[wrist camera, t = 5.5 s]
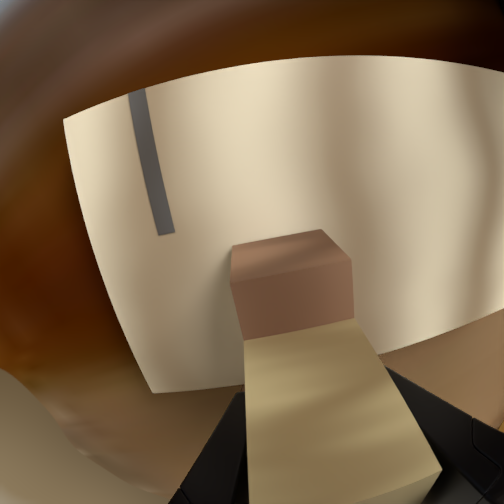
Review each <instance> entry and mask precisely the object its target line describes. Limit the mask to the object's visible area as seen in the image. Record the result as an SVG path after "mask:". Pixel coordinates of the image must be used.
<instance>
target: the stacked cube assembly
mask: <svg viewBox="0 0 504 504" xmlns="http://www.w3.org/2000/svg"><path fill="white" fill-rule="evenodd" d="M230 287H231V291H232V295H233V299H234V304H235V308H236V312H237V316H238V320H239V324H240V328H241V332H242V336H243V340H244V371H245V384H242V391H245V402H246V431H247V458H248V482H249V504H421V502H422V501H423V499H424V498H425V496H426V495H427V493H428V492H429V490H430V489H431V487H432V486H433V484H434V483H435V481H436V479H437V478H438V476H439V474H440V473H441V471H442V468H441V466H440V464H439V462H438V460H437V458H436V457H435V455H434V453H433V451H432V449H431V447H430V445H429V444H428V442H427V440H426V438H425V436H424V434H423V433H422V431H421V429H420V427H419V425H418V424H417V422H416V420H415V418H414V416H413V415H412V413H411V411H410V409H409V408H408V406H407V404H406V402H405V401H404V399H403V397H402V395H401V394H400V392H399V390H398V389H397V387H396V385H395V383H394V382H393V380H392V378H391V377H390V375H389V373H388V372H387V370H386V368H385V367H384V365H383V363H382V362H381V360H380V358H379V357H378V355H377V354H376V352H375V350H374V349H373V347H372V345H371V344H370V342H369V341H368V339H367V337H366V336H365V334H364V333H363V331H362V329H361V328H360V326H359V325H358V323H357V321H356V320H355V318H354V295H353V276H352V261H351V258H350V257H349V256H348V255H347V254H346V253H345V252H344V251H343V250H342V249H341V248H340V247H339V246H338V245H337V244H336V243H335V242H334V241H333V240H332V239H331V238H330V237H329V236H328V235H327V234H326V233H325V232H324V231H323V230H322V229H317V230H312V231H307V232H301V233H296V234H291V235H285V236H280V237H275V238H269V239H264V240H259V241H253V242H248V243H243V244H238V245H233V246H232V256H231V270H230Z"/></svg>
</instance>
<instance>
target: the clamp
mask: <svg viewBox="0 0 504 504" xmlns="http://www.w3.org/2000/svg"><path fill="white" fill-rule="evenodd" d="M499 431H501V432H503V433H504V421H503V422H502V424H501V426H500V428H499Z"/></svg>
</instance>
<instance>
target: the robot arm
mask: <svg viewBox="0 0 504 504" xmlns="http://www.w3.org/2000/svg"><path fill="white" fill-rule="evenodd" d="M499 2H500V4H501V7H502V9H503V12H504V0H499ZM384 367H385V368H386V370H387V372H388V373H389V375H390V377H391V378H392V380H393V382H394V383H395V385H396V387H397V389H398V390H399V392H400V394H401V395H402V397H403V399H404V401H405V402H406V404H407V406H408V408H409V409H410V411H411V413H412V415H413V416H414V418H415V420H416V422H417V424H418V425H419V427H420V429H421V431H422V433H423V434H424V436H425V438H426V440H427V442H428V444H429V445H430V447H431V449H432V451H433V453H434V455H435V457H436V458H437V460H438V462H439V464H440V466H441V468H442V471H441V473H440V474H439V476H438V478H437V479H436V481H435V483H434V484H433V486H432V487H431V489H430V490H429V492H428V493H427V495H426V496H425V498H424V499H423V501H422V502H421V504H504V433H503V432H501V431H499V430H497V429H495V428H493V427H491V426H489V425H487V424H485V423H483V422H481V421H480V420H478V419H476V418H472V416H470V415H469V414H467V413H465V412H463V411H462V410H460V409H458V408H456V407H455V406H453V405H451V404H449V403H448V402H446V401H444V400H442V399H441V398H439V397H437V396H435V395H434V394H432V393H430V392H429V391H427V390H425V389H423V388H422V387H420V386H418V385H417V384H415V383H413V382H412V381H410V380H408V379H407V378H405V377H403V376H401V375H400V374H398V373H396V372H395V371H393V370H391V369H390V368H388V367H386V366H385V365H384ZM180 488H181V489H180ZM180 488H178V489H177V491H176V492H175V494H174V496H173V497H172V499H171V500H170V502H169V503H168V504H249V482H248V458H247V431H246V402H245V391H242V392H237V393H236V394H235V396H234V397H233V399H232V401H231V403H230V404H229V406H228V408H227V410H226V411H225V413H224V415H223V416H222V418H221V420H220V422H219V423H218V425H217V427H216V428H215V430H214V432H213V433H212V435H211V437H210V438H209V440H208V442H207V443H206V445H205V447H204V448H203V450H202V452H201V453H200V455H199V456H198V458H197V460H196V461H195V463H194V465H193V466H192V468H191V469H190V471H189V472H188V474H187V476H186V477H185V479H184V480H183V482H182V483H181V485H180Z"/></svg>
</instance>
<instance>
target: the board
mask: <svg viewBox="0 0 504 504" xmlns="http://www.w3.org/2000/svg"><path fill="white" fill-rule="evenodd" d="M63 122H64V128H65V135H66V141H67V146H68V152H69V157H70V162H71V167H72V172H73V176H74V181H75V185H76V189H77V194H78V198H79V202H80V206H81V210H82V213H83V217H84V221H85V224H86V228H87V231H88V235H89V238H90V241H91V245H92V248H93V251H94V254H95V257H96V260H97V263H98V266H99V269H100V272H101V275H102V278H103V281H104V283H105V286H106V289H107V292H108V294H109V297H110V300H111V302H112V305H113V307H114V310H115V312H116V315H117V317H118V320H119V322H120V325H121V327H122V329H123V332H124V334H125V336H126V339H127V341H128V343H129V345H130V348H131V350H132V352H133V354H134V356H135V359H136V361H137V363H138V365H139V367H140V369H141V371H142V373H143V375H144V377H145V379H146V381H147V383H148V385H149V387H150V389H151V391H152V393H167V392H180V391H192V390H202V389H211V388H219V387H227V386H235V385H242V384H245V371H244V340H243V336H242V332H241V328H240V324H239V320H238V316H237V312H236V308H235V304H234V299H233V295H232V291H231V287H230V270H231V256H232V246H233V245H238V244H243V243H248V242H253V241H259V240H264V239H269V238H275V237H280V236H285V235H291V234H296V233H301V232H307V231H312V230H317V229H322V230H323V231H324V232H325V233H326V234H327V235H328V236H329V237H330V238H331V239H332V240H333V241H334V242H335V243H336V244H337V245H338V246H339V247H340V248H341V249H342V250H343V251H344V252H345V253H346V254H347V255H348V256H349V257H350V258H351V261H352V276H353V295H354V318H355V320H356V321H357V323H358V325H359V326H360V328H361V329H362V331H363V333H364V334H365V336H366V337H367V339H368V341H369V342H370V344H371V345H372V347H373V349H374V350H375V352H376V354H377V355H379V354H383V353H386V352H390V351H393V350H396V349H399V348H402V347H405V346H408V345H411V344H414V343H417V342H420V341H423V340H426V339H429V338H432V337H435V336H437V335H440V334H443V333H445V332H448V331H451V330H453V329H456V328H458V327H461V326H463V325H466V324H468V323H471V322H473V321H475V320H478V319H480V318H482V317H485V316H487V315H489V314H491V313H494V312H496V311H498V310H500V309H502V308H504V73H503V72H499V71H495V70H490V69H486V68H481V67H476V66H470V65H465V64H459V63H452V62H446V61H438V60H429V59H420V58H408V57H392V56H324V57H308V58H296V59H286V60H277V61H269V62H261V63H254V64H248V65H242V66H236V67H230V68H225V69H220V70H215V71H210V72H205V73H201V74H197V75H192V76H188V77H184V78H180V79H176V80H173V81H169V82H165V83H162V84H158V85H155V86H151V87H148V88H144V89H140V90H137V91H134V92H131V93H128V94H127V95H124V96H121V97H118V98H115V99H112V100H110V101H107V102H104V103H102V104H99V105H97V106H94V107H91V108H89V109H87V110H84V111H82V112H79V113H77V114H75V115H72V116H70V117H68V118H66V119H63Z"/></svg>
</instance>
